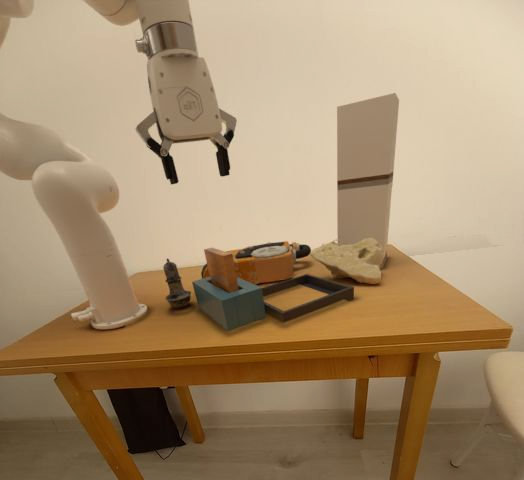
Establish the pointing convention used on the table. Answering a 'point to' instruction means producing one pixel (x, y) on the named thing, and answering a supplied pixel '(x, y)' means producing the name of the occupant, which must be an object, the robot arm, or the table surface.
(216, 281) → the wooden plank block
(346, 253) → the beige rock
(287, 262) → the device
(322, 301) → the dark rectangular frame
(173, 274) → the dark stone tower figurine
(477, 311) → the table surface
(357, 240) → the refrigerator
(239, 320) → the blue-grey slotted box
